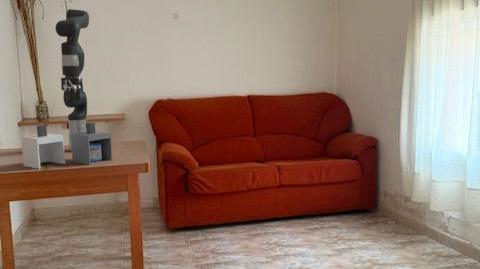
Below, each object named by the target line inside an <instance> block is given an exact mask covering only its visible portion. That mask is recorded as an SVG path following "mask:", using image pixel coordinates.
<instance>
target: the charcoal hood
mask: <svg viewBox="0 0 480 269" xmlns="http://www.w3.org/2000/svg"><path fill="white" fill-rule="evenodd" d="M89 143H100V144H101V155H102V159H103V160H106V161H107V160H108V161H113V160H114V159H113V157H114V156H113V144H112V143H113V142H112V132H109V131H102V130H101V131H100V130H99V131H98V130H96V122H90V121H89V122H86V132H82V133H74V134H71V144H72V151H71V154H72V162H73V163H77V164H83V165H87V166H88V165H89V166H90V165H92V162H91V159H90V144H89Z"/></svg>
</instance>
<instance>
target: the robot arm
mask: <svg viewBox="0 0 480 269" xmlns="http://www.w3.org/2000/svg"><path fill="white" fill-rule="evenodd" d="M89 24H90V15H89V13H88V11H86V10H83V9H82V10H81V9H74V8H73V9H71V8H70V9H69V8H68V9H67V10H66V14H65V19H63V20H62V19H61V20H59V21H58V22H56V24H55V32H56V34H57V35H58V36H59V37H61V38H66V41H64V42H62V43H61V44H60V46H61V47H60V48H61V49H60V50H61V72H62V73H61V74H62V76H64V77H61V78H60V82H61V84H60V85H61V86H60V87H61V88H60V90H61V91H63V96H62V97H63V103H64V105H65V107H67V108H73V111H72V112H71V113H69V114H68V115H67V116H68V117H67V121H68V131H69V132H68V143H69V144H68V145H69V146H68V147H69V151H70V152H72V144H71V134H74V133H82V132H86V123H87V114H88V98H87V97H88V96H87V94H86V92H85V91H84V86H83V78H82V77H80V75H82V74H81V73H82V72H83V70H84V66H85V52H84V50H83V47H82V46H81V44H80V43H79V37H80V34H81V30H82V29H87V28H88V26H89Z"/></svg>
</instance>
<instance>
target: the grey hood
mask: <svg viewBox="0 0 480 269" xmlns="http://www.w3.org/2000/svg"><path fill="white" fill-rule="evenodd" d="M47 130H48V128H47V125H46V124H45V125H44V124H40V125H36V132H37V133H36V134H34V135H28V136H21V138H20V139H21V140H20V141H21V152H22V163H23V167H27V168H31V167H32V169H37V168H38V169H37V170H41V169H40V168H41V164H44V163H49V162H50V163H55V164H62V165H66V156H65V155H66V154H65V153H66V151H65V141H64V140H65V139H64V134H63V135H62V134H54V133H48V131H47ZM43 162H44V163H43Z"/></svg>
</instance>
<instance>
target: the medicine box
mask: <svg viewBox="0 0 480 269" xmlns="http://www.w3.org/2000/svg"><path fill="white" fill-rule="evenodd" d="M89 144H90V159H91V163H93V162H102V155H101V144H100V143H89Z"/></svg>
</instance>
